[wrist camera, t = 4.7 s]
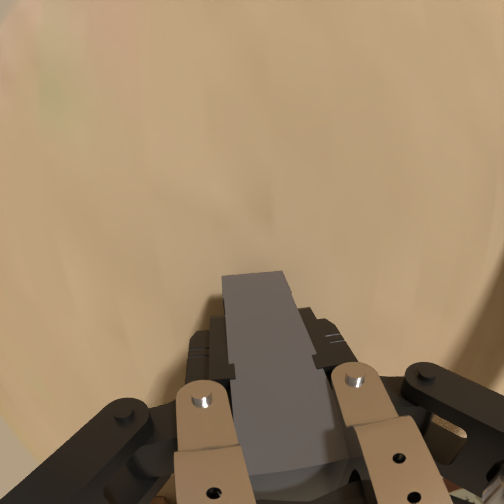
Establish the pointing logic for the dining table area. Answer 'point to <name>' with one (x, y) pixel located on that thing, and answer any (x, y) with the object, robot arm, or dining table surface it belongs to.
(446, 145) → the dining table surface
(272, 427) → the scraper
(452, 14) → the dining table surface
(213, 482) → the robot arm
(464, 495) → the food container
